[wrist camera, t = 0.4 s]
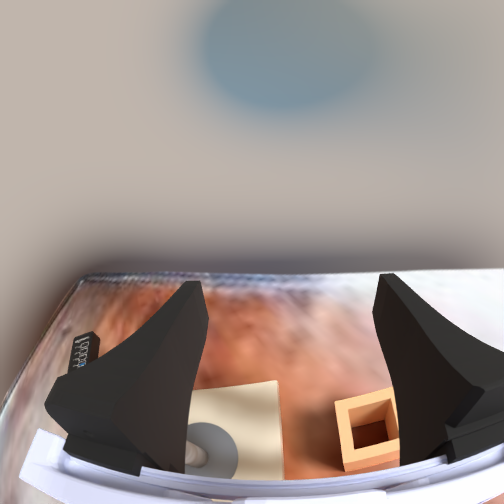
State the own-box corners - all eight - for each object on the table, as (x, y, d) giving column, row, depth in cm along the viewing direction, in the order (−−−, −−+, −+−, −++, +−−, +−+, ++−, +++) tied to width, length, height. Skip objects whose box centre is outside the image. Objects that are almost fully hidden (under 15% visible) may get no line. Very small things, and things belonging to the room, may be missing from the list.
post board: (287, 532, 17) (270, 538, 13) (132, 518, 20) (93, 511, 16) (278, 384, 29) (263, 356, 26) (147, 396, 32) (117, 373, 28)
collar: (402, 457, 19) (414, 444, 16) (345, 472, 20) (343, 463, 17) (391, 408, 23) (399, 384, 20) (338, 422, 24) (334, 401, 21)
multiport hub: (72, 424, 31) (61, 417, 30) (82, 345, 43) (73, 337, 41) (94, 420, 31) (83, 413, 30) (101, 338, 42) (93, 330, 41)
